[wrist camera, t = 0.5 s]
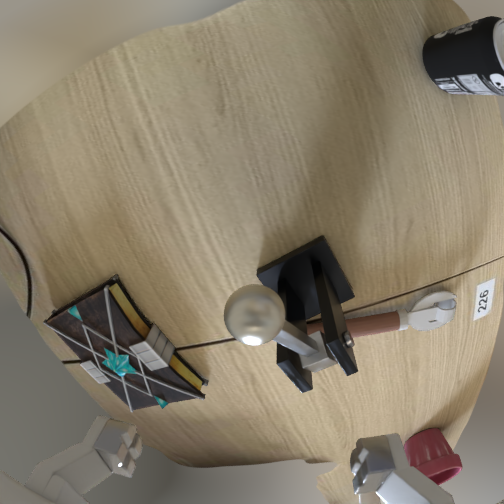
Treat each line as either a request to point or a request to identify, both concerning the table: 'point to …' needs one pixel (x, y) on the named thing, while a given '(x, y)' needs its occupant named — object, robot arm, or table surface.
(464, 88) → the beverage can
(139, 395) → the book
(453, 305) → the pizza cutter
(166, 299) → the table surface
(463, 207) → the table surface
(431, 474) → the flower pot
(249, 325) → the lever
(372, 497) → the white coffee cup
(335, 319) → the black lever stand
